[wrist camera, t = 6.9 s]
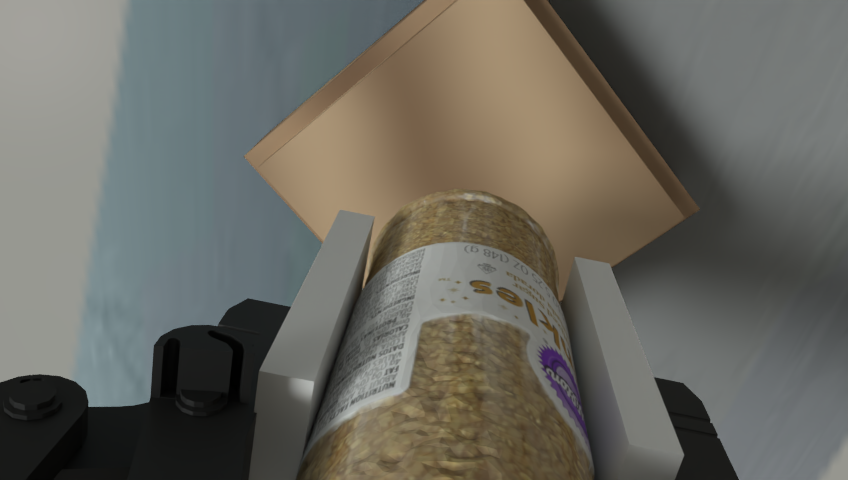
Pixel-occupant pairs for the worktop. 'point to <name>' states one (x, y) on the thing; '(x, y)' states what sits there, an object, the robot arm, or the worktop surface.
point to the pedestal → (478, 133)
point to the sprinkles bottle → (454, 355)
